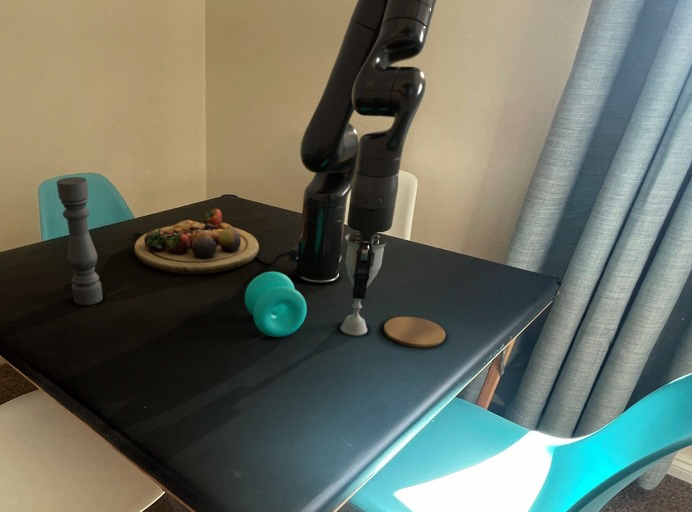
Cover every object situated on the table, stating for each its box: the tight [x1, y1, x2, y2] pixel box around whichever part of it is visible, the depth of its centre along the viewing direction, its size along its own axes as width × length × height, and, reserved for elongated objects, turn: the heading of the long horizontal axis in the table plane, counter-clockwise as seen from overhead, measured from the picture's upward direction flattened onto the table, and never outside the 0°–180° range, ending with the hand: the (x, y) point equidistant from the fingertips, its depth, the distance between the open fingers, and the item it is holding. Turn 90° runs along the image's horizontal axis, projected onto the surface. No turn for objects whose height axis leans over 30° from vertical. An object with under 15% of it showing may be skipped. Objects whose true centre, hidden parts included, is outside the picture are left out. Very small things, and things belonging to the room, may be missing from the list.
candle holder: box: [56, 176, 104, 306], centre depth 113 cm, size 6×6×25 cm
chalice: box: [339, 231, 389, 336], centre depth 102 cm, size 7×7×18 cm
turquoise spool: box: [244, 271, 308, 338], centre depth 105 cm, size 10×10×10 cm
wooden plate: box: [133, 208, 260, 275], centre depth 140 cm, size 32×32×8 cm
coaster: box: [383, 316, 446, 348], centre depth 105 cm, size 11×11×1 cm
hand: (359, 290), depth 102 cm, fingers closed on chalice, 6 cm apart
